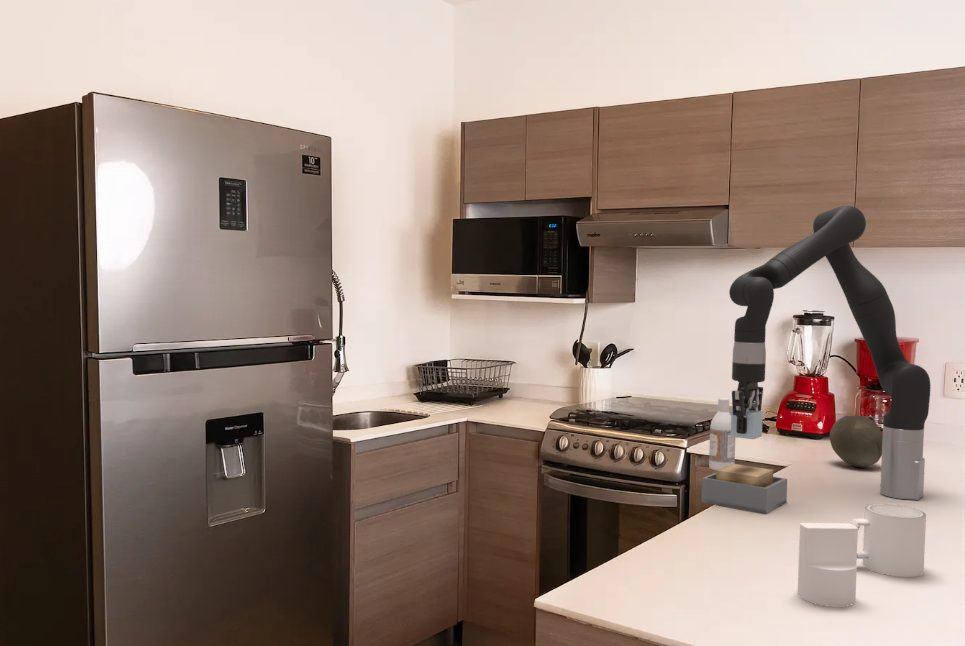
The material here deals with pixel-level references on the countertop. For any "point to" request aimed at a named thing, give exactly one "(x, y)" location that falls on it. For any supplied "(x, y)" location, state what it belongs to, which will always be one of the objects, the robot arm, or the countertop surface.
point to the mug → (893, 540)
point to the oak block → (746, 475)
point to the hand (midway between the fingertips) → (746, 431)
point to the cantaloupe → (857, 440)
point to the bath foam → (721, 438)
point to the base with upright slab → (828, 563)
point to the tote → (744, 494)
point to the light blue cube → (748, 425)
